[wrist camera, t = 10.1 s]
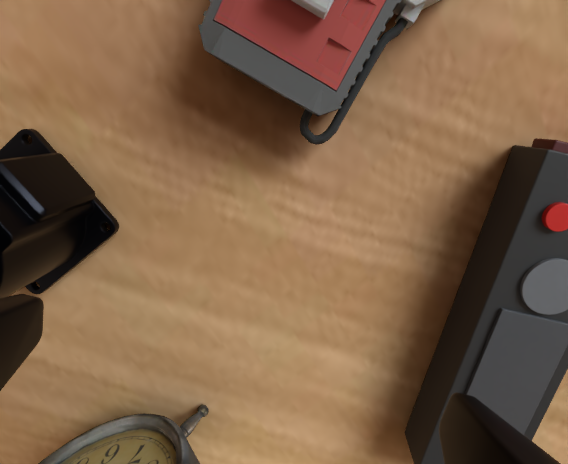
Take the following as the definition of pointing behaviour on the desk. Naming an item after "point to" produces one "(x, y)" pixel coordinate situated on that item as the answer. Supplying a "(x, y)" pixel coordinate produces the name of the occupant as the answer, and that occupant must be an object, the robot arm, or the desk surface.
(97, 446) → the alarm clock
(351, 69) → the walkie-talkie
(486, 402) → the remote
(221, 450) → the desk surface
